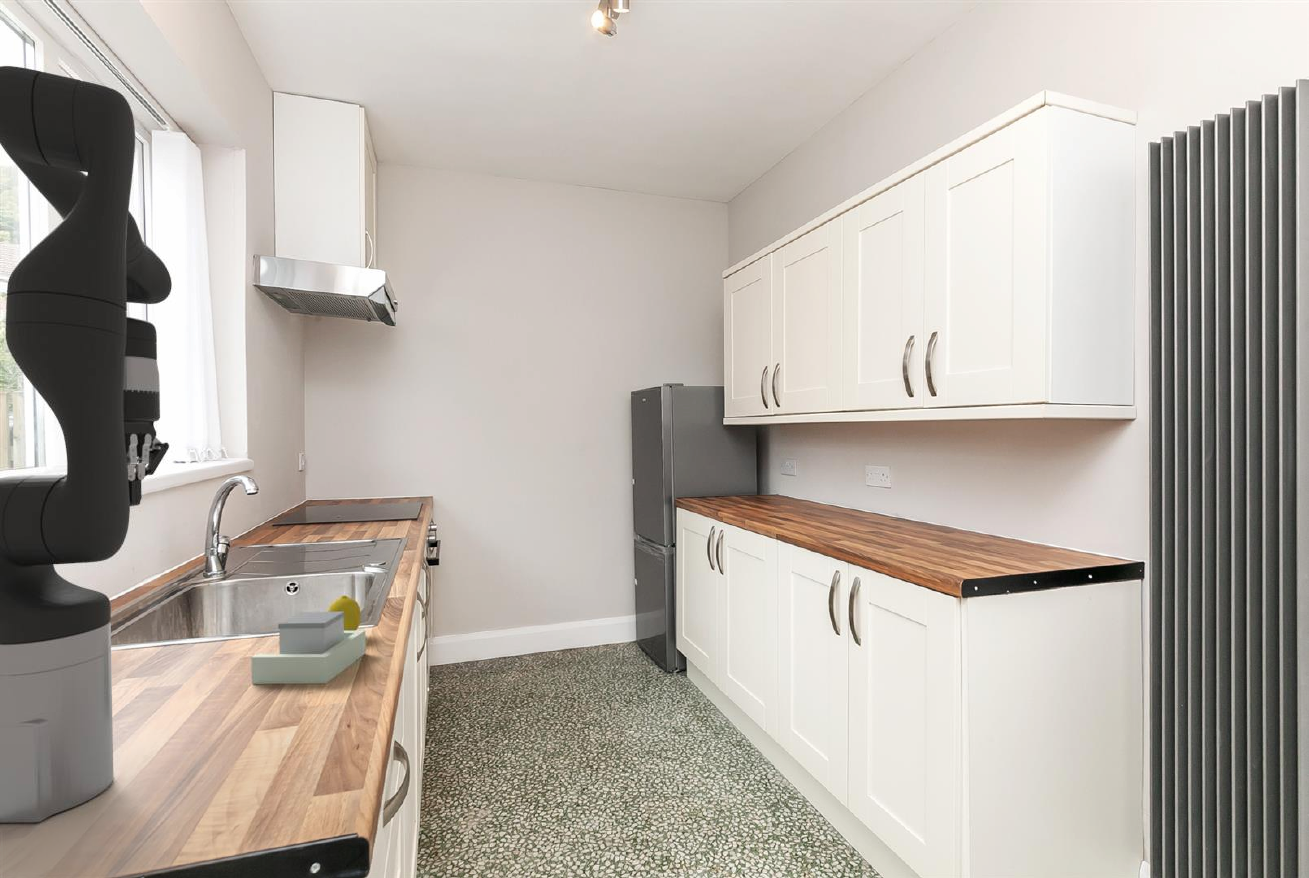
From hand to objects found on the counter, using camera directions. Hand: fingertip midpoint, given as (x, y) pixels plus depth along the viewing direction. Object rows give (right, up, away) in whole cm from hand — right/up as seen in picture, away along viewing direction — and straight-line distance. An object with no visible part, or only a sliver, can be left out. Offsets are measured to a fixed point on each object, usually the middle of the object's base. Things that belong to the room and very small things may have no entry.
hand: (129, 505), depth 92 cm
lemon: (+21, -27, +21) cm, 40 cm away
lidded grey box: (+23, -27, +7) cm, 36 cm away
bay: (+23, -27, +7) cm, 36 cm away
